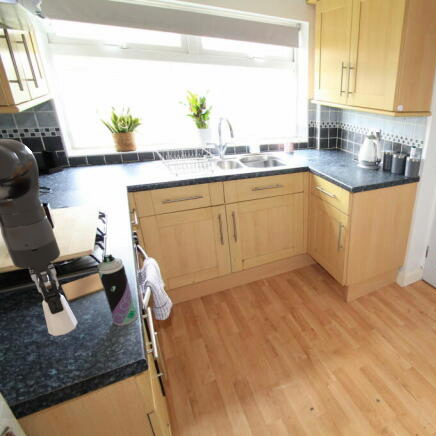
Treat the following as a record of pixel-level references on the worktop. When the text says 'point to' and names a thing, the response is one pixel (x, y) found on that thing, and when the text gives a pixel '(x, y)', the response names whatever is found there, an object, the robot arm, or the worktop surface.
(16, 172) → the robot arm
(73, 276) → the worktop surface
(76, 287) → the cork mat
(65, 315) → the pepper shaker
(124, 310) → the spray can
